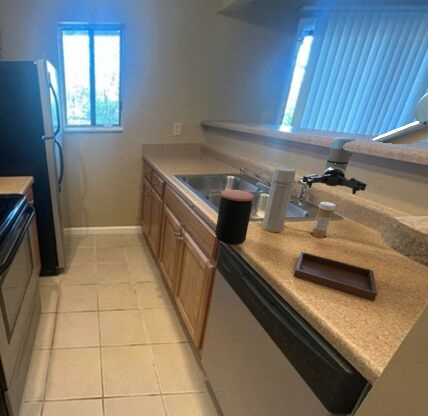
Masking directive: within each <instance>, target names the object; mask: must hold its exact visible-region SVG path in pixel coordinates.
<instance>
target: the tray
mask: <svg viewBox="0 0 428 416" xmlns="http://www.w3.org/2000/svg"><path fill="white" fill-rule="evenodd" d="M293 278H297V279H300V280H303V281H306V282H310V283H314V284H317V285H320V286H323V287H326V288H329V289H333V290H336V291H339V292H341V293H345V294H348V295H352V296H355V297H358V298H362V299H365V300H368V301H371V302H375V300H376V298H377V295H378V289H377V285H376V279H375V273H374V270H373V269H369V268H366V267H362V266H357V265H354V264H350V263H346V262H343V261H339V260H334V259H331V258H327V257H323V256H319V255H316V254H312V253H308V252H305V251H300V252H299V256H298V259H297V263H296V267H295V270H294V274H293Z"/></svg>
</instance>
